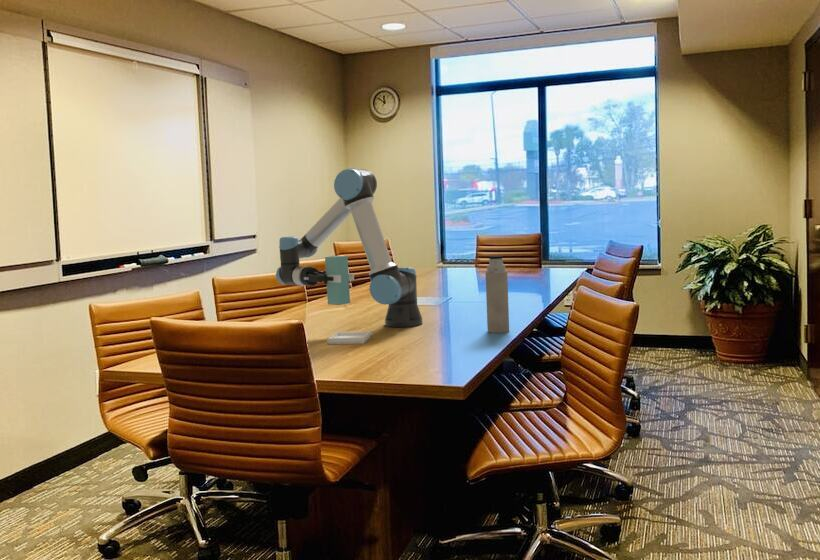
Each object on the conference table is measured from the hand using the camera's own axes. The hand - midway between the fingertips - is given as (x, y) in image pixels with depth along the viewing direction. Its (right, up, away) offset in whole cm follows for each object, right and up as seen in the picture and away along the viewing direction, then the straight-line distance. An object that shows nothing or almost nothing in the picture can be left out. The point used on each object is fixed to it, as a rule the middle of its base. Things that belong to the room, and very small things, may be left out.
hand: (346, 277), depth 279 cm
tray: (+2, -23, -8) cm, 24 cm away
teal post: (-3, -10, +4) cm, 11 cm away
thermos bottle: (+56, -20, -4) cm, 60 cm away
